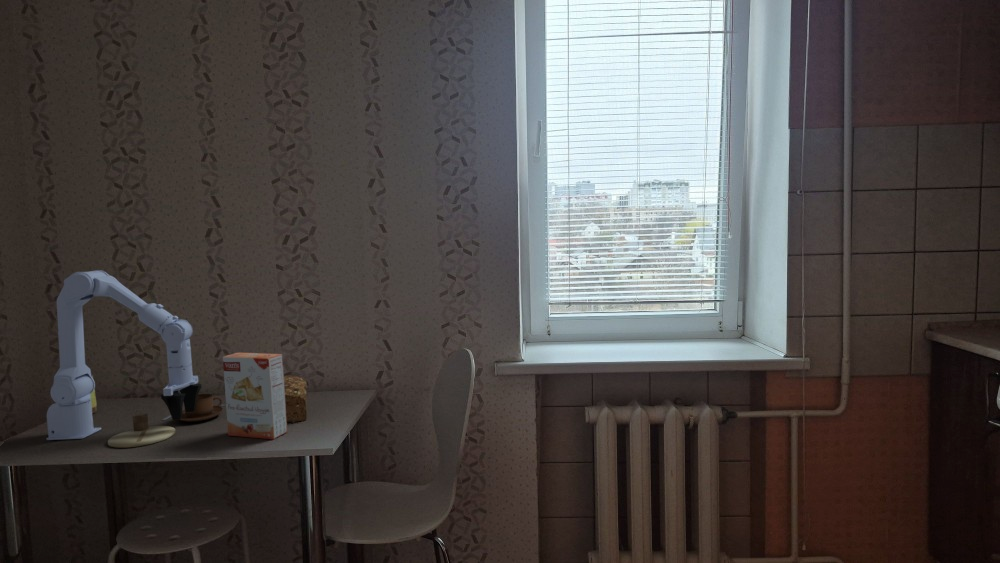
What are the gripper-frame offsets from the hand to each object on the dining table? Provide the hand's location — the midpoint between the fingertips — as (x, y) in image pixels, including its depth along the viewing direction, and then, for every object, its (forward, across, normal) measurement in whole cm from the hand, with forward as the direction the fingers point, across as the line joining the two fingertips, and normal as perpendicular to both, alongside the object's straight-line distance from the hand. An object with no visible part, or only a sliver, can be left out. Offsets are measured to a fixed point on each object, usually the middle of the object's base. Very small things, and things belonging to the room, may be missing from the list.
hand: (183, 415), depth 163 cm
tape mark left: (+3, +10, +10) cm, 15 cm away
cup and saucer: (+4, +8, 0) cm, 9 cm away
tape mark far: (+3, +21, 0) cm, 22 cm away
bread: (+4, +9, -25) cm, 27 cm away
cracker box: (+4, -9, -23) cm, 25 cm away
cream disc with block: (+3, -8, +7) cm, 11 cm away
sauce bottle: (+4, +18, +39) cm, 43 cm away
